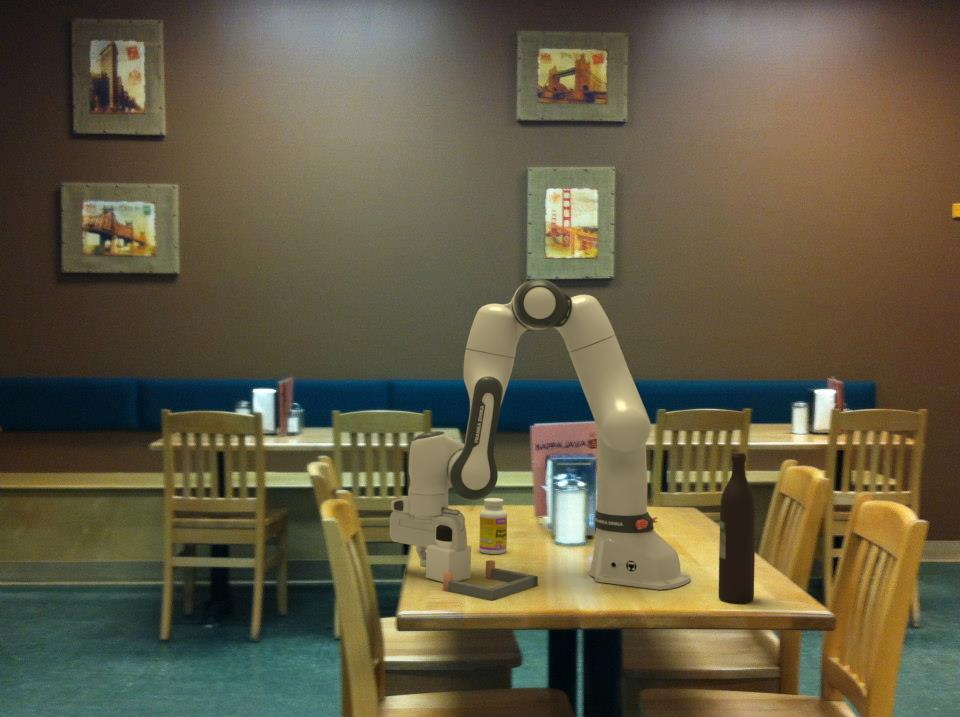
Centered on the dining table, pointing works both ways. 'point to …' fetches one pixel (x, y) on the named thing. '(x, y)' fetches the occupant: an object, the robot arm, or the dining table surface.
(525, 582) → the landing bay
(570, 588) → the dining table surface
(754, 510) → the wine bottle
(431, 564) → the medicine bottle
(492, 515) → the supplement bottle
